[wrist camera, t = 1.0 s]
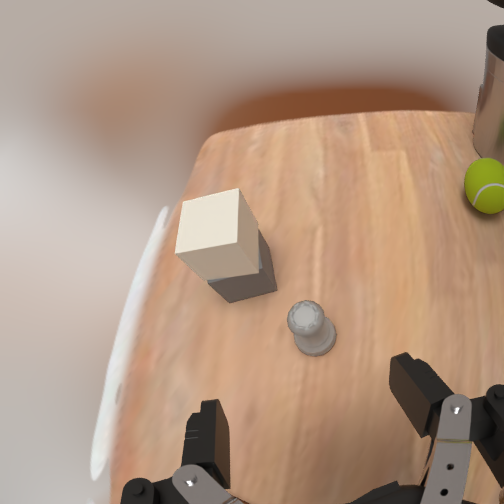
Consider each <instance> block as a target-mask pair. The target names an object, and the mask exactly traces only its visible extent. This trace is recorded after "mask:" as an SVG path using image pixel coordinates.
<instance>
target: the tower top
mask: <svg viewBox="0 0 504 504" xmlns="http://www.w3.org/2000/svg"><path fill="white" fill-rule="evenodd" d="M175 254H176V255H177V256H178V257H179V258H180V259H181V260H182V261H183V262H184V263H185V264H186V265H187V266H189V267H190V268H191V269H192V270H193V271H194V272H195V273H196V274H197V275H198V276H199V277H201V278H202V279H203V280H204V281H206V280H214V279H221V278H228V277H235V276H242V275H249V274H256V273H259V245H258V222H257V220H256V218H255V216H254V215H253V213H252V211H251V209H250V207H249V205H248V204H247V202H246V200H245V198H244V196H243V195H242V193H241V191H240V189H239V188H237V189H233V190H229V191H224V192H220V193H216V194H212V195H208V196H204V197H200V198H196V199H192V200H188V201H184V202H183V205H182V211H181V217H180V223H179V229H178V236H177V242H176V249H175Z"/></svg>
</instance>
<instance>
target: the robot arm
mask: <svg viewBox="0 0 504 504" xmlns="http://www.w3.org/2000/svg"><path fill="white" fill-rule="evenodd" d="M488 1H489V2H491V3H493V4H495V5H497V6H499V7H501V8H504V0H488ZM472 132H473V133H474V138H473V144H474V147H475V149H476V151H477V152H478V153H479V155H480V156H481V157H482V158H492V159H495V160H497V161H498V162H500V163H501V164H502V165H503V166H504V25H497V26H492V27H490V28H489V29H488V32H487V46H486V59H485V72H484V81H483V84H482V85H480V89H479V96H478V102H477V109H476V114H475V120H474V125H473V130H472ZM389 385H390V389H391V392H392V393H393V395H394V396H395V398H396V399H397V401H398V403H399V404H400V406H401V407H402V409H403V410H404V412H405V413H406V415H407V417H408V418H409V420H410V421H411V423H412V424H413V426H414V428H415V429H416V431H417V432H418V434H419V435H420V437H421V438H423V437H425V436H427V435H430V437H431V441H430V445H429V449H428V453H427V457H426V461H425V465H424V468H423V472H422V475H421V478H420V480H419V483H418V485H401V486H399V484H398V482H397V481H394V482H392V483H389V484H387V485H384V486H382V487H379V488H376V489H373V490H372V491H370V492H368V493H367V494H365V495H363V496H361V497H360V498H358V499H356V500H354V501H353V502H351V503H347V504H476V503H472V502H469V501H466V500H462V498H463V494H464V489H465V484H466V479H467V473H468V467H469V461H470V454H471V446H472V441H473V442H474V444H475V445H476V447H477V448H478V450H479V452H480V453H481V455H482V456H483V458H484V460H485V461H486V463H487V465H488V466H489V468H490V469H491V471H492V473H493V474H494V476H495V478H496V480H497V481H498V483H499V485H500V486H501V488H502V489H501V491H500V494H499V502H500V503H499V504H504V385H500V384H498V385H494V386H492V387H490V388H489V389H488V391H487V393H486V396H482V397H478V398H474V399H469V398H468V397H466V396H464V395H461V394H454V393H453V392H452V391H451V390H450V388H449V387H448V386H447V385H446V384H445V383H444V382H443V380H442V379H441V378H440V377H439V376H437V374H436V372H435V371H433V369H432V368H431V367H430V366H429V365H428V363H426V362H424V361H422V360H420V359H416V360H414V359H413V358H412V357H411V356H410V355H409V354H408V353H407V352H405V353H402V354H399V355H397V356H394V357H392V358H391V362H390V375H389ZM225 489H230V438H229V426H228V422H227V419H226V416H225V414H224V411H223V409H222V406H221V404H220V401H219V400H218V399H215V400H207V401H202V402H201V410H200V412H199V413H192V415H191V416H190V418H189V419H188V421H187V425H186V433H185V440H184V448H183V455H182V463H181V467H180V468H179V469H177V470H176V471H175V473H174V474H173V476H172V477H170V478H168V479H165V480H161V481H158V482H154V483H151V482H150V481H149V480H147V479H145V478H135V479H132V480H130V481H129V482H127V483H126V485H125V486H124V488H123V492H122V497H121V503H120V504H244V503H242V502H241V501H240V500H239V499H237V498H236V497H235V498H234V497H232V496H231V495H230V494H229V493H228V492H227V491H226V490H225Z"/></svg>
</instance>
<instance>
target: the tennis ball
mask: <svg viewBox="0 0 504 504" xmlns="http://www.w3.org/2000/svg"><path fill="white" fill-rule="evenodd" d="M464 185H465V192H466V195H467V198H468V200H469V201H470V203H471V204H472V205H473V206H474V207H475V208H476V209H477V210H479V211H481V212H483V213H487V214H494V213H498V212H500V211H502V210H503V209H504V166H503V165H502V164H501V163H500V162H498V161H497V160H495V159H492V158H481V159H478V160H476V161H474V162H473V163H472V164H471V165H470V166H469V168H468V170H467V172H466V175H465V181H464Z"/></svg>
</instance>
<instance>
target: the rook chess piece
mask: <svg viewBox="0 0 504 504" xmlns="http://www.w3.org/2000/svg"><path fill="white" fill-rule="evenodd" d="M287 322H288V327H289V328H290V330H291V331H292V332H293V333H294V339H295V343H296V345H297V347H298V348H299V350H300V351H301V352H303V353H305V354H306V355H310V356H318V355H323V354H325V353H326V352H327V351H329V350H330V349H331V348H332V346H333V345H334V343H335V340H336V330H335V326H334V325H333V323H332V322H331V321H330V319H329V318H327V317H325V315H324V311H323V309H322V308H321V306H320V305H319V304H317V303H315V302H314V301H307V300H305V301H301V302H298V303H296V304H295V305H294V306H293V307H292V308H291V310H290V311H289V313H288V317H287Z"/></svg>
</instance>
